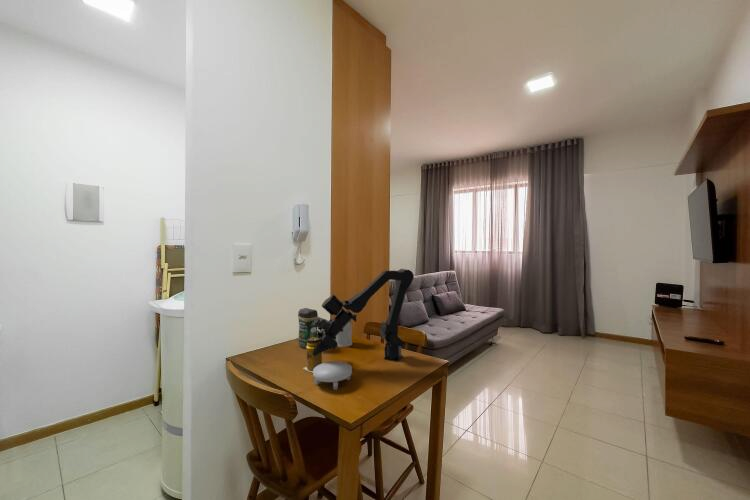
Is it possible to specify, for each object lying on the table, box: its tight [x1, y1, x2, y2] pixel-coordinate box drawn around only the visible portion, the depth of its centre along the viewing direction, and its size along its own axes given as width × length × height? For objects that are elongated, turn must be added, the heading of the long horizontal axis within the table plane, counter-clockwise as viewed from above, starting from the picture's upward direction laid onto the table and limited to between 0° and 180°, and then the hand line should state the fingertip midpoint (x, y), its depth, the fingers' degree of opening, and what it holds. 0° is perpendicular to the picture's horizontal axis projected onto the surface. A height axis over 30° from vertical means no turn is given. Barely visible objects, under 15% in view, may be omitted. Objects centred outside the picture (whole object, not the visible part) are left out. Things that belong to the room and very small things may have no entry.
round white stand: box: [312, 361, 353, 391], centre depth 108 cm, size 14×14×4 cm
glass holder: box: [335, 319, 353, 348], centre depth 151 cm, size 9×14×15 cm, turn 22°
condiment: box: [302, 337, 323, 374], centre depth 120 cm, size 7×8×12 cm
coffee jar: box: [297, 307, 319, 349], centre depth 146 cm, size 10×8×19 cm
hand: (312, 352), depth 119 cm, fingers closed on condiment, 6 cm apart
